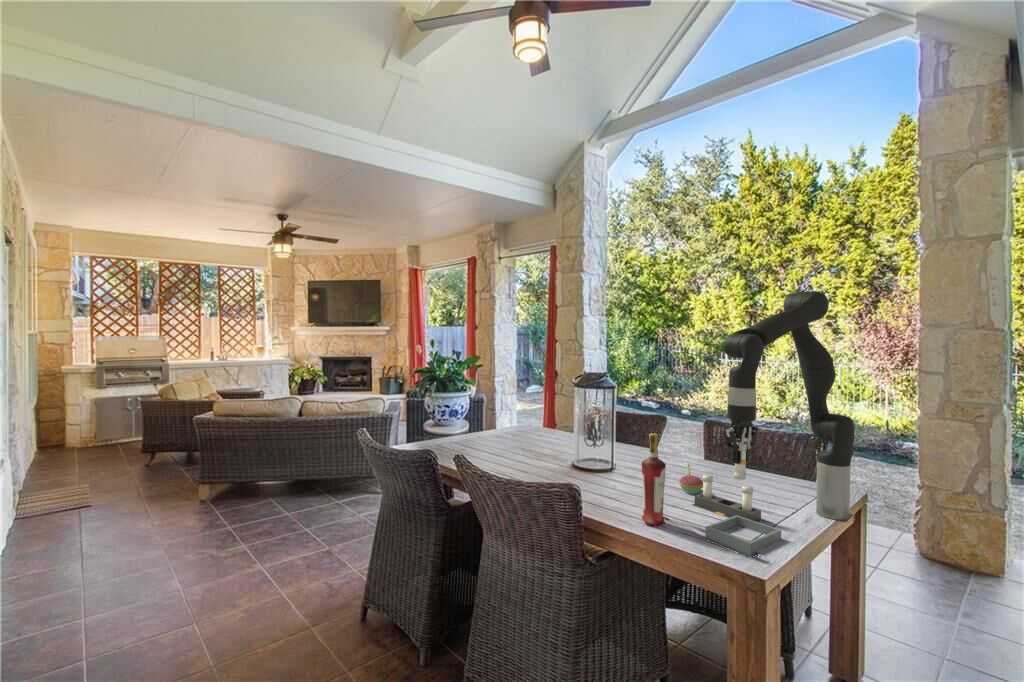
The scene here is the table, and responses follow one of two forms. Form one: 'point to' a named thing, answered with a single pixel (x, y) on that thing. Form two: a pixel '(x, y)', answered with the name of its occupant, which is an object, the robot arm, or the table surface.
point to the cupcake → (691, 483)
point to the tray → (739, 544)
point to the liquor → (653, 484)
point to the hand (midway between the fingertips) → (740, 462)
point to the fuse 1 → (707, 486)
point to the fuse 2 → (747, 498)
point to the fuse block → (726, 508)
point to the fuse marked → (741, 464)
